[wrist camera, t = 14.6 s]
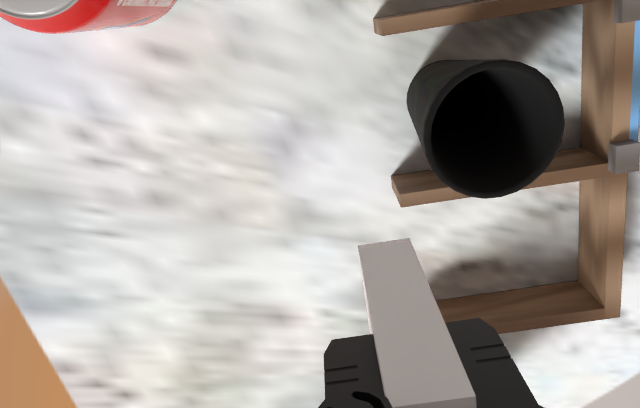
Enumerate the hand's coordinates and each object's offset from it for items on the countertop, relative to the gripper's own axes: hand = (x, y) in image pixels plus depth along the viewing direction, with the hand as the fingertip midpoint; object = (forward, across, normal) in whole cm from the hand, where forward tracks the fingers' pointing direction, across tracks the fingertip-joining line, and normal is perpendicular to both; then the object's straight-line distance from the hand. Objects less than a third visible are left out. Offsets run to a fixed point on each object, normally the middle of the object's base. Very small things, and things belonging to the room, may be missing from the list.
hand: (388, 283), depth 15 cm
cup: (+27, +8, 0) cm, 28 cm away
